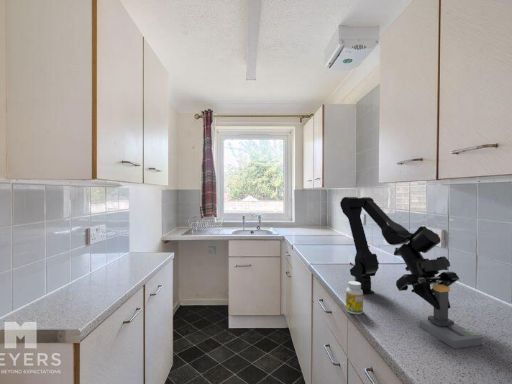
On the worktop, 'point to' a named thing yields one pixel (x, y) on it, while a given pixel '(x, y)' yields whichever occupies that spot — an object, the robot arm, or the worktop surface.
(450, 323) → the breaker handle
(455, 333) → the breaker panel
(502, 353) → the worktop surface
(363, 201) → the robot arm
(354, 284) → the supplement bottle
